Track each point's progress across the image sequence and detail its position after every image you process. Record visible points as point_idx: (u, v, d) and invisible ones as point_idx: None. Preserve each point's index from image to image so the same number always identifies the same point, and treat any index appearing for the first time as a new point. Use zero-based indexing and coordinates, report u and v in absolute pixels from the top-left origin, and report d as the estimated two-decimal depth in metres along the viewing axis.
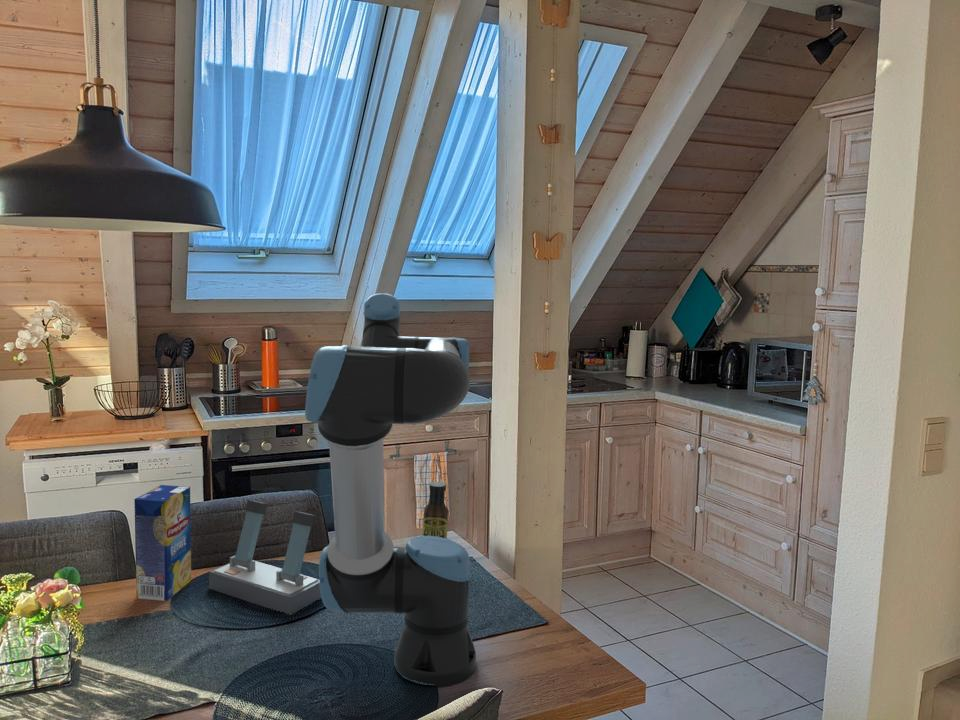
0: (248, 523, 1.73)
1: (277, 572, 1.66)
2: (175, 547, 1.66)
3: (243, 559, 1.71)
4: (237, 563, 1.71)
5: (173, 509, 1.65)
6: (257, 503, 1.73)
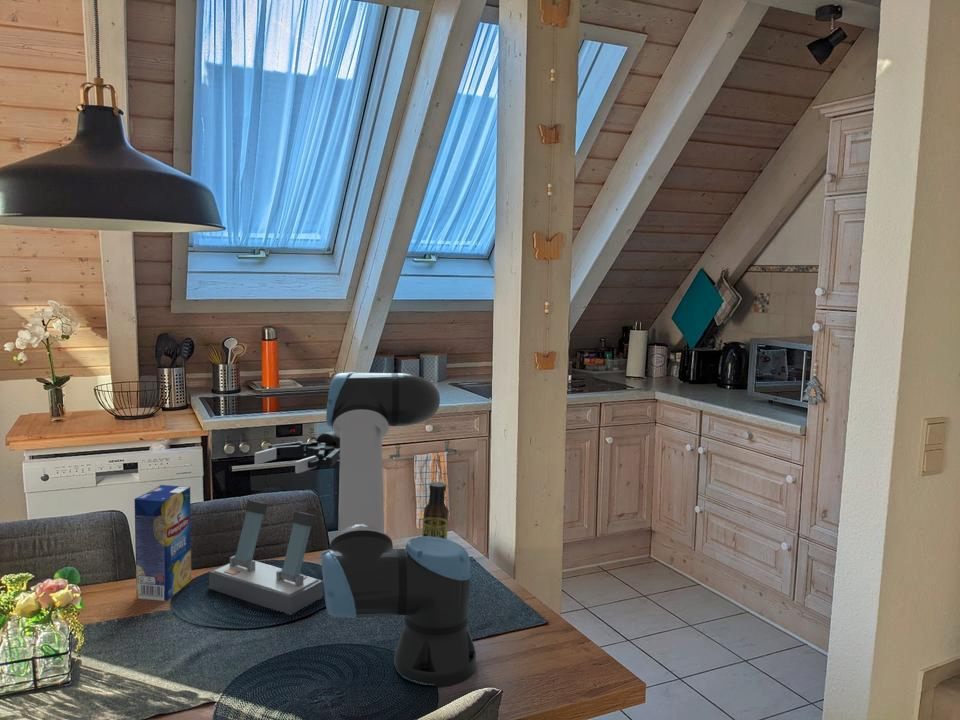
0: (248, 523, 1.73)
1: (277, 572, 1.66)
2: (175, 547, 1.66)
3: (243, 559, 1.71)
4: (237, 563, 1.71)
5: (173, 509, 1.65)
6: (257, 503, 1.73)
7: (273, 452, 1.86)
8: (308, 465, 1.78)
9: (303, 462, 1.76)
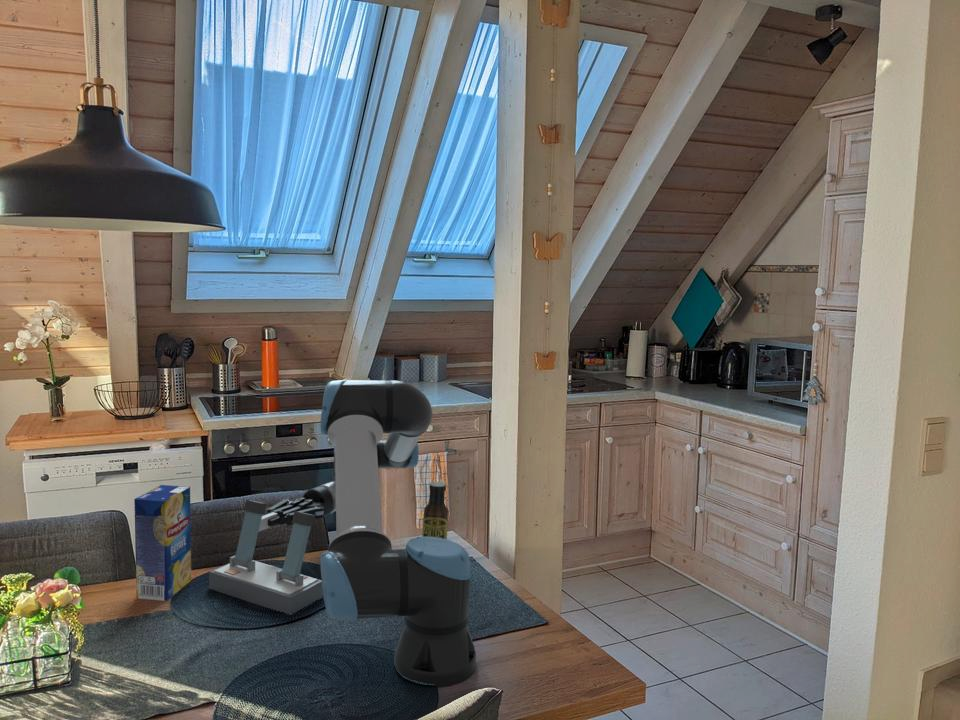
0: (247, 523, 1.72)
1: (277, 572, 1.66)
2: (175, 547, 1.66)
3: (243, 559, 1.71)
4: (237, 563, 1.71)
5: (173, 509, 1.65)
6: (256, 503, 1.72)
7: None
8: (268, 523, 1.77)
9: (263, 521, 1.75)
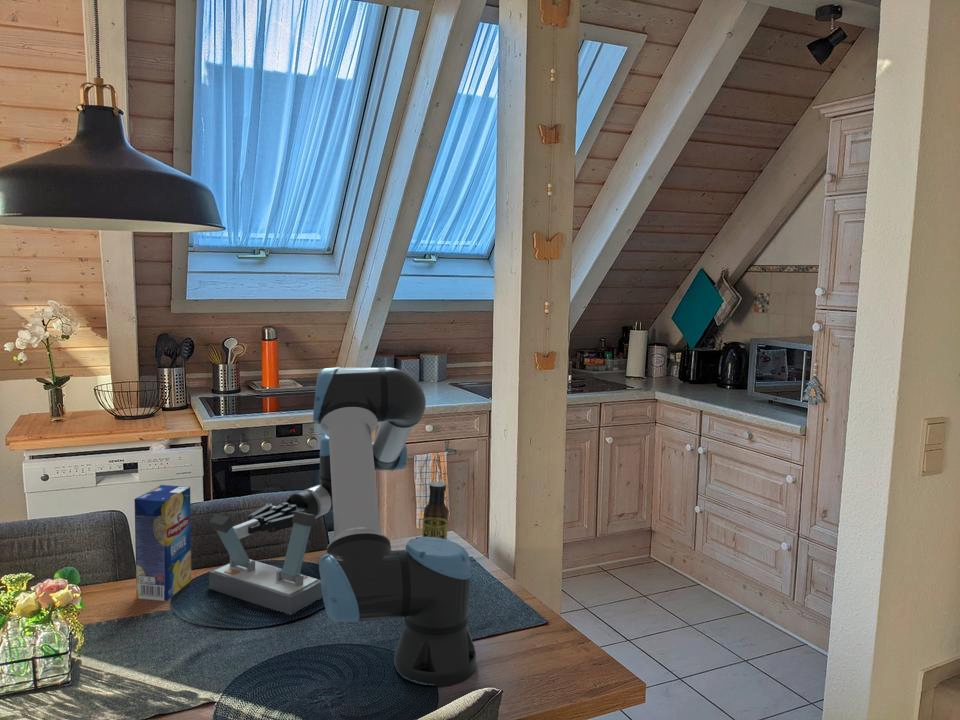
0: (224, 537, 1.67)
1: (277, 572, 1.66)
2: (175, 547, 1.66)
3: (241, 563, 1.70)
4: None
5: (173, 509, 1.65)
6: (219, 525, 1.63)
7: None
8: (248, 530, 1.71)
9: (243, 528, 1.70)
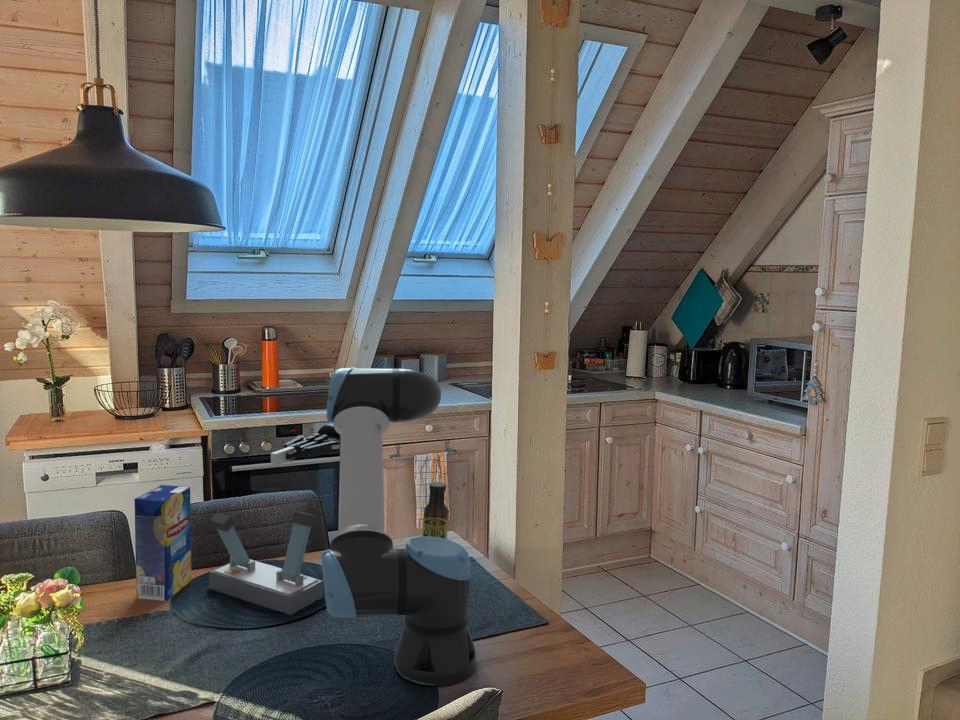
0: (224, 537, 1.67)
1: (277, 572, 1.66)
2: (175, 547, 1.66)
3: (241, 563, 1.70)
4: None
5: (173, 509, 1.65)
6: (220, 524, 1.63)
7: None
8: (286, 457, 1.78)
9: (281, 454, 1.77)
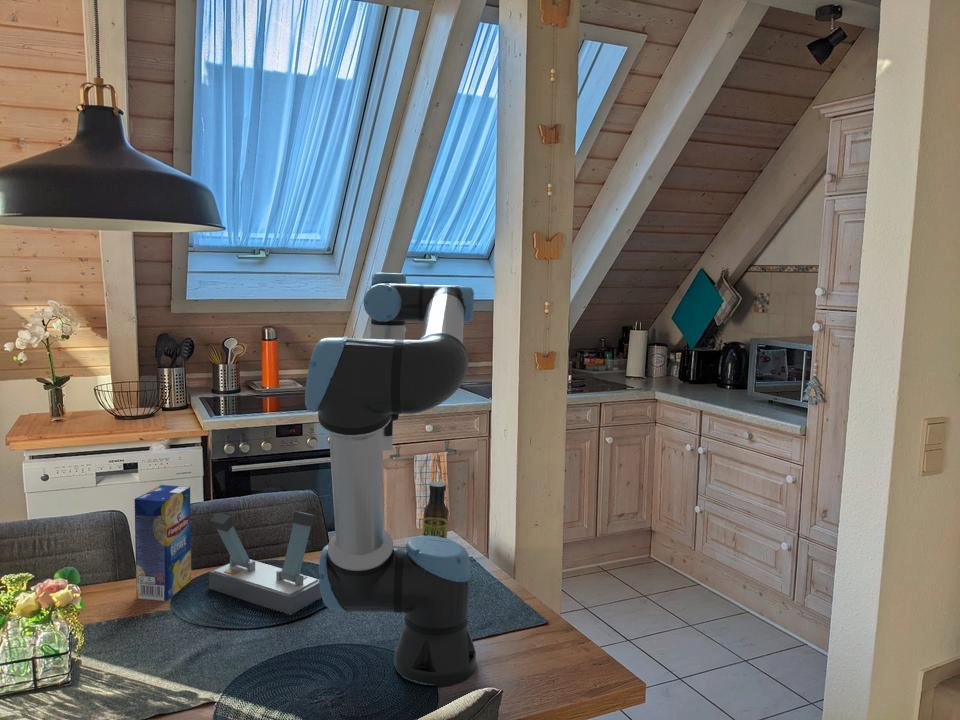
0: (224, 537, 1.67)
1: (277, 572, 1.66)
2: (175, 547, 1.66)
3: (241, 563, 1.70)
4: None
5: (173, 509, 1.65)
6: (220, 524, 1.63)
7: None
8: (388, 435, 1.69)
9: (383, 442, 1.69)
